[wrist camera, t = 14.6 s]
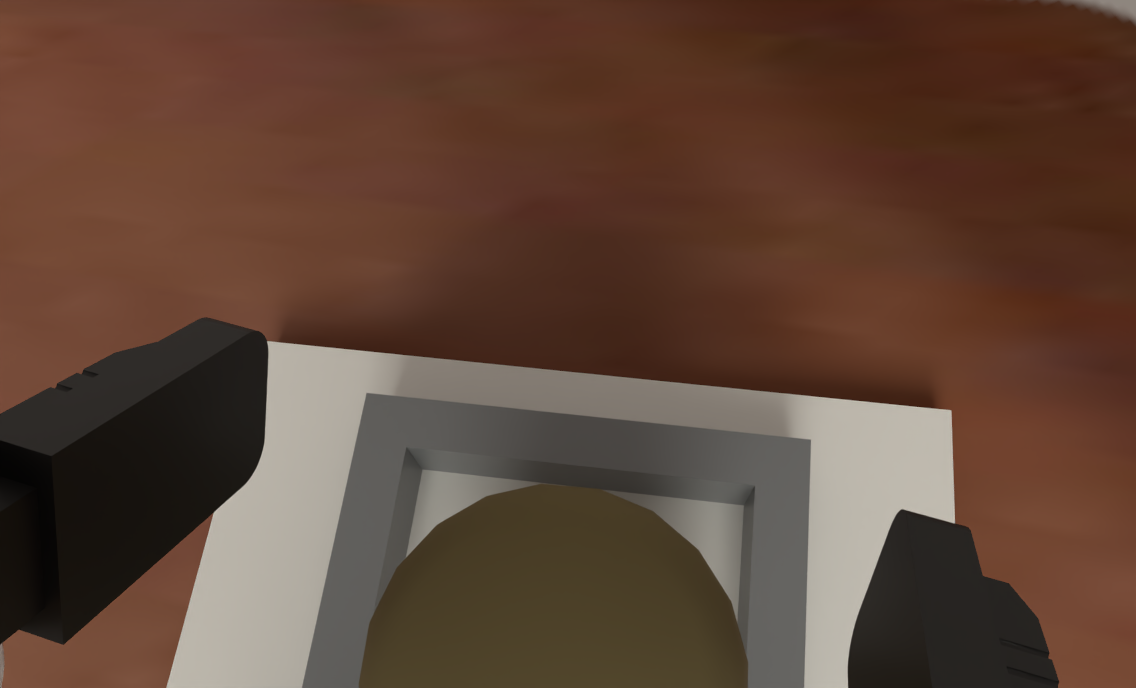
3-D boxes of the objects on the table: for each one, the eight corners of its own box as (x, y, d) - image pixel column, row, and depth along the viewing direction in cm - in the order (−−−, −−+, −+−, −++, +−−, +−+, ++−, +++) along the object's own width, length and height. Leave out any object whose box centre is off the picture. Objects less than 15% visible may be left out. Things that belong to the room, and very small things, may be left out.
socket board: (938, 422, 24) (980, 382, 22) (955, 1073, 19) (1013, 1130, 16) (272, 354, 26) (232, 309, 23) (119, 937, 21) (43, 968, 18)
